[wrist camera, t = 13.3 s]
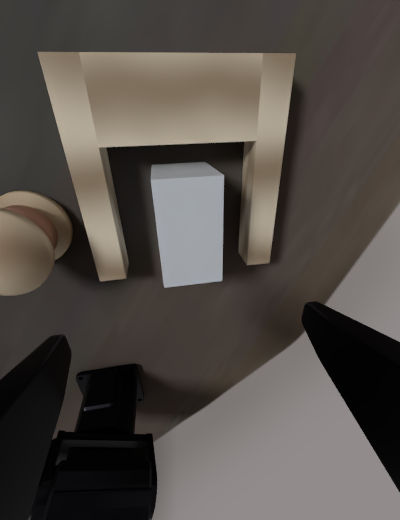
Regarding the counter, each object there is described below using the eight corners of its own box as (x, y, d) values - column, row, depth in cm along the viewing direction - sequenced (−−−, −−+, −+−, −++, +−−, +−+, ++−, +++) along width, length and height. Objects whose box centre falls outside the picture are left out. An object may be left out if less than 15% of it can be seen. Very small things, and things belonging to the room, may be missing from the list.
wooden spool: (81, 255, 21) (61, 290, 16) (8, 262, 20) (-32, 300, 16) (61, 187, 18) (31, 207, 14) (-24, 192, 17) (-84, 215, 13)
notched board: (258, 250, 23) (269, 262, 21) (105, 265, 21) (100, 281, 19) (277, 62, 16) (295, 53, 14) (54, 62, 15) (37, 51, 12)
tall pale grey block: (206, 244, 22) (222, 280, 17) (161, 248, 22) (164, 287, 16) (204, 161, 19) (224, 175, 14) (151, 164, 18) (150, 179, 13)
